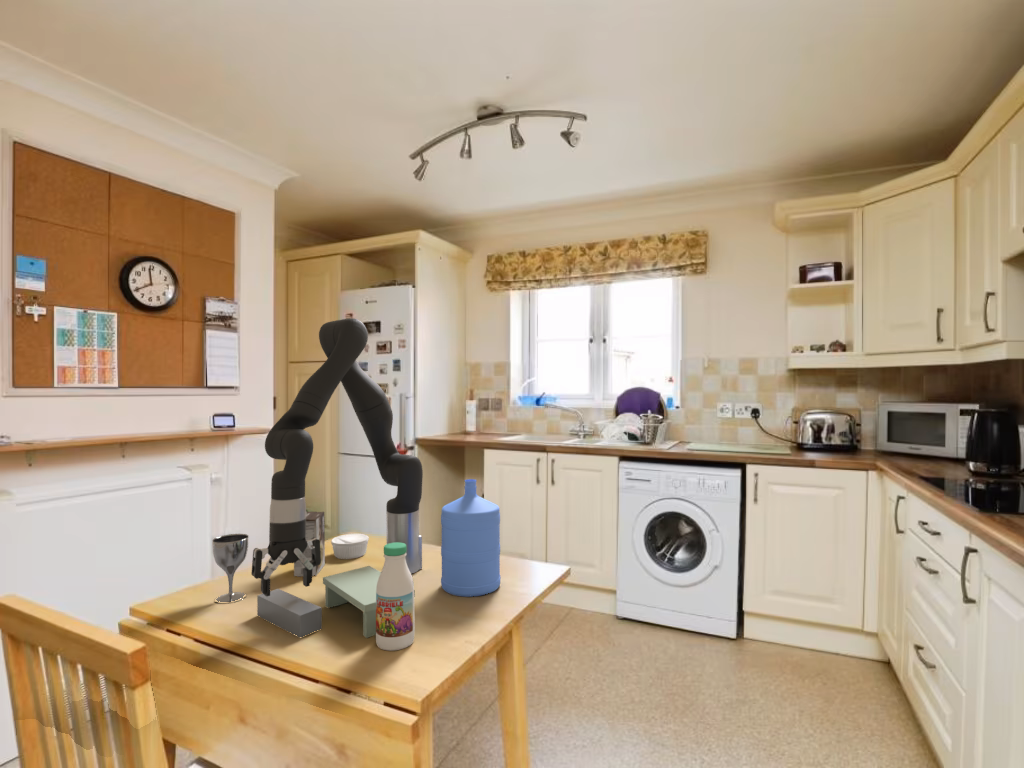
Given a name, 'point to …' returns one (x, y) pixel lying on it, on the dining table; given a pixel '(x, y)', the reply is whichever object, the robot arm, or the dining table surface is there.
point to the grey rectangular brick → (290, 612)
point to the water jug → (470, 545)
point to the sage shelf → (355, 593)
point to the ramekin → (350, 546)
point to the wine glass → (230, 559)
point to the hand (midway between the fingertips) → (287, 590)
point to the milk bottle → (395, 600)
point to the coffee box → (313, 529)
